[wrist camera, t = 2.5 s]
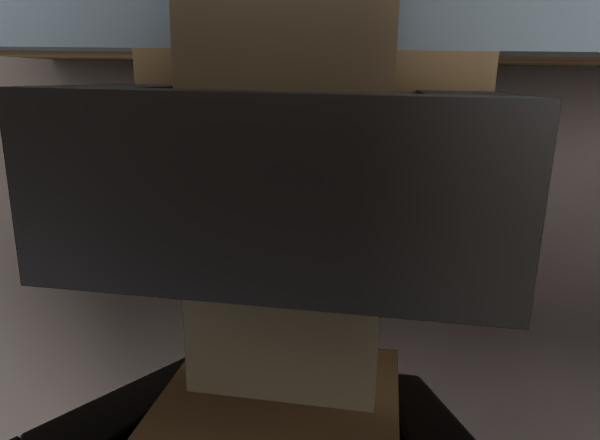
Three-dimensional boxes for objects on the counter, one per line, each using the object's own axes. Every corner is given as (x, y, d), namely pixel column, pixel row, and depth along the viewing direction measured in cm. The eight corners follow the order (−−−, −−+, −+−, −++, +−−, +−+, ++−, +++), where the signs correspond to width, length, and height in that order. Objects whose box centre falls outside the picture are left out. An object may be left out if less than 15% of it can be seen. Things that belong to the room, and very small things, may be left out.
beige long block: (387, 483, 8) (386, 668, 6) (210, 459, 9) (133, 620, 6) (452, -397, 6) (510, -842, 3) (183, -366, 6) (16, -720, 3)
